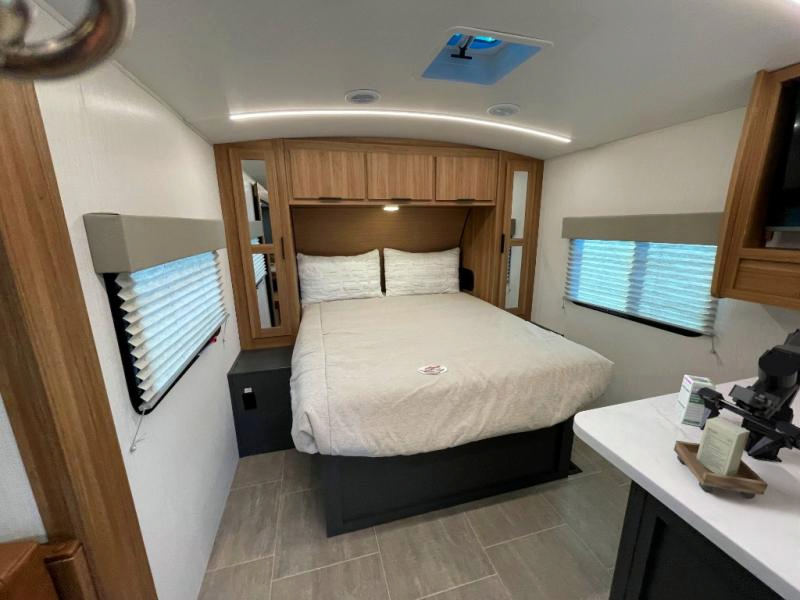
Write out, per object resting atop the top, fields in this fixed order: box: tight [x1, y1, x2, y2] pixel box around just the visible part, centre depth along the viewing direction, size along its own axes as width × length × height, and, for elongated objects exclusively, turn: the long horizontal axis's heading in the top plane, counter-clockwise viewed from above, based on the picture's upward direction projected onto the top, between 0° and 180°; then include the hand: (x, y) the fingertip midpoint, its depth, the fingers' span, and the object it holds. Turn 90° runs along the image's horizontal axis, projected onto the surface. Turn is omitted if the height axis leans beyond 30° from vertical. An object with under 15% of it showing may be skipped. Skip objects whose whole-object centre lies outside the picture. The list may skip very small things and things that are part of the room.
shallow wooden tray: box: [673, 440, 769, 500], centre depth 78 cm, size 12×12×5 cm
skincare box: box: [696, 416, 750, 476], centre depth 76 cm, size 6×4×12 cm
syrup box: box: [674, 374, 717, 428], centre depth 99 cm, size 6×6×14 cm
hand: (723, 441), depth 76 cm, fingers open, 9 cm apart
